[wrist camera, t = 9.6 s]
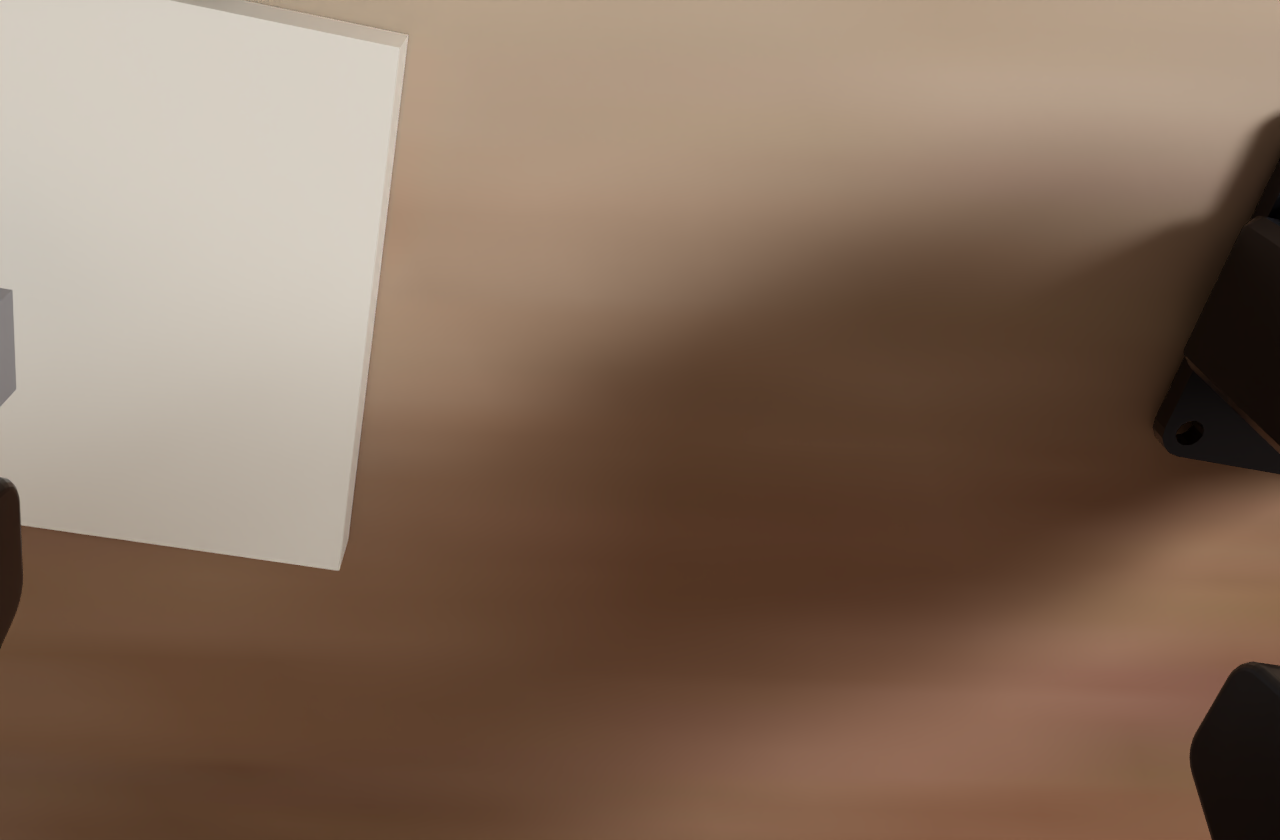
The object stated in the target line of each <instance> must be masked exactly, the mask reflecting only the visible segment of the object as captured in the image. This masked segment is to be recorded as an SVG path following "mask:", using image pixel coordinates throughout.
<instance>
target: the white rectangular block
mask: <svg viewBox="0 0 1280 840" xmlns="http://www.w3.org/2000/svg"><path fill="white" fill-rule="evenodd" d="M407 43H408V35H407V34H402V33H398V32H393V31H388V30H383V29H379V28H374V27H369V26H364V25H359V24H355V23H350V22H345V21H340V20H336V19H331V18H326V17H321V16H316V15H312V14H307V13H302V12H297V11H293V10H288V9H283V8H278V7H273V6H269V5H264V4H259V3H254V2H250V1H245V0H0V477H3V478H7V479H9V480H10V481H11V482H12V483H13V484H14V485H15V486H16V488H17V491H18V494H19V498H20V514H21V525H23V526H30V527H37V528H44V529H51V530H58V531H65V532H72V533H78V534H85V535H92V536H99V537H106V538H113V539H120V540H127V541H134V542H141V543H148V544H155V545H162V546H169V547H176V548H183V549H190V550H197V551H204V552H211V553H218V554H225V555H232V556H239V557H246V558H253V559H260V560H267V561H274V562H281V563H288V564H295V565H302V566H309V567H316V568H323V569H330V570H337V571H339V569H340V566H341V563H342V559H343V556H344V553H345V549H346V546H347V543H348V538H349V530H350V522H351V513H352V505H353V497H354V488H355V480H356V471H357V463H358V455H359V446H360V438H361V429H362V421H363V413H364V404H365V396H366V387H367V379H368V371H369V362H370V354H371V346H372V337H373V329H374V320H375V312H376V304H377V295H378V287H379V278H380V270H381V262H382V253H383V245H384V236H385V228H386V220H387V211H388V203H389V195H390V186H391V178H392V169H393V161H394V153H395V144H396V136H397V127H398V119H399V111H400V102H401V94H402V85H403V77H404V69H405V60H406V52H407Z"/></svg>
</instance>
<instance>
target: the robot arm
mask: <svg viewBox="0 0 1280 840" xmlns="http://www.w3.org/2000/svg"><path fill="white" fill-rule="evenodd" d="M1184 355H1185V357H1184V359H1183V362H1182V364H1181V366H1180V368H1179V370H1178V372H1177V374H1176V376H1175V378H1174V380H1173V382H1172V384H1171V387H1170V389H1169V391H1168V393H1167V395H1166V397H1165V399H1164V401H1163V403H1162V405H1161V407H1160V409H1159V412H1158V414H1157V416H1156V418H1155V421H1154V425H1153V430H1154V435H1155V437H1156V438H1157V439H1158V440H1159V441H1160V443H1161V444H1162V445H1163V446H1164V447H1165V448H1166V449H1167V451H1168V452H1169V453H1171V454H1173V455H1176V456H1179V457H1185V458H1190V459H1196V460H1202V461H1207V462H1213V463H1219V464H1225V465H1230V466H1236V467H1242V468H1248V469H1253V470H1259V471H1265V472H1270V473H1276V474H1280V159H1279V161H1278V164H1277V166H1276V168H1275V170H1274V172H1273V174H1272V176H1271V178H1270V180H1269V182H1268V184H1267V186H1266V189H1265V191H1264V193H1263V195H1262V197H1261V199H1260V201H1259V203H1258V205H1257V207H1256V209H1255V211H1254V214H1253V216H1252V218H1251V220H1250V222H1249V223H1247V224H1246V225H1245V226H1244V227H1243V228H1242V230H1241V232H1240V234H1239V236H1238V238H1237V240H1236V242H1235V244H1234V246H1233V248H1232V251H1231V253H1230V255H1229V257H1228V259H1227V261H1226V263H1225V265H1224V267H1223V269H1222V271H1221V274H1220V276H1219V278H1218V280H1217V282H1216V284H1215V286H1214V288H1213V290H1212V292H1211V294H1210V297H1209V299H1208V301H1207V303H1206V305H1205V307H1204V309H1203V311H1202V313H1201V315H1200V317H1199V320H1198V322H1197V324H1196V326H1195V328H1194V330H1193V332H1192V334H1191V336H1190V338H1189V340H1188V343H1187V345H1186V347H1185V349H1184ZM1188 421H1193V425H1192V426H1191V428H1190V429H1189V430H1188V431H1186V432H1184V433H1182V434H1176V433H1177V430H1178V429H1179V428H1180V426H1181V425H1183V424H1185V423H1186V422H1188ZM22 585H23V564H22V539H21V514H20V498H19V494H18V491H17V488H16V486H15V485H14V484H13V483H12V482H11V481H10V480H9V479H7V478H3V477H0V648H1V646H2V643H3V641H4V639H5V637H6V634H7V632H8V630H9V628H10V626H11V623H12V621H13V619H14V616H15V614H16V611H17V608H18V605H19V602H20V597H21V593H22ZM1190 767H1191V772H1192V776H1193V779H1194V782H1195V786H1196V789H1197V792H1198V795H1199V799H1200V802H1201V805H1202V809H1203V812H1204V815H1205V819H1206V822H1207V825H1208V828H1209V832H1210V835H1211V838H1212V840H1280V666H1279V665H1271V664H1264V663H1258V662H1248V663H1244V664H1241V665H1240V666H1238V667H1237V668H1236V669H1234V670H1233V671H1232V672H1231V674H1230V675H1229V676H1228V678H1227V680H1226V682H1225V683H1224V685H1223V687H1222V688H1221V690H1220V692H1219V694H1218V695H1217V697H1216V699H1215V701H1214V702H1213V704H1212V706H1211V707H1210V709H1209V711H1208V713H1207V714H1206V716H1205V718H1204V719H1203V721H1202V723H1201V725H1200V726H1199V728H1198V730H1197V732H1196V733H1195V735H1194V738H1193V740H1192V744H1191V748H1190Z"/></svg>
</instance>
